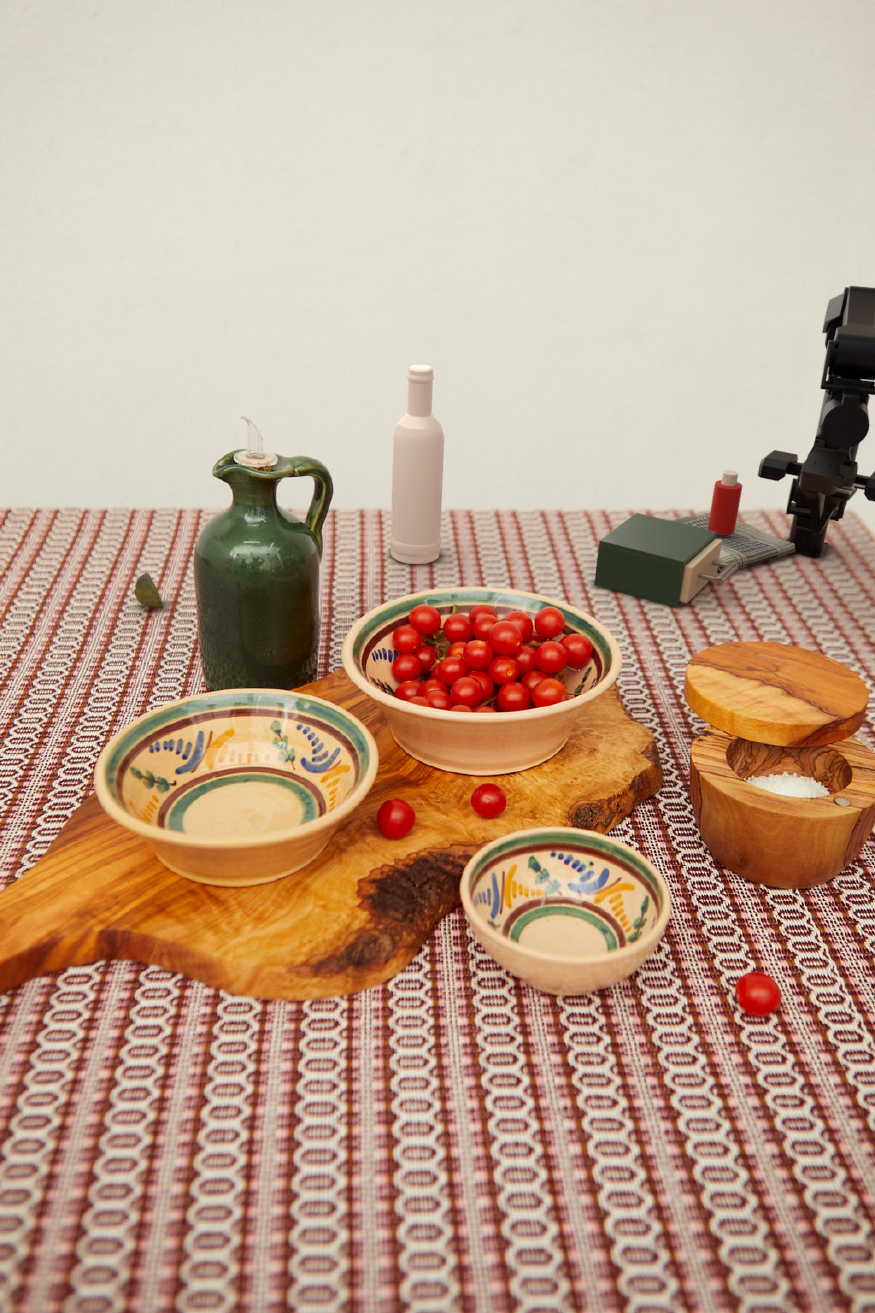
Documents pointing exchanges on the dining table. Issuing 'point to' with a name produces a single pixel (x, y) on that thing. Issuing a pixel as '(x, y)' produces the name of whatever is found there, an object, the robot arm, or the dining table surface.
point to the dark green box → (649, 557)
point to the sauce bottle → (725, 504)
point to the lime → (147, 592)
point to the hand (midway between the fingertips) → (817, 533)
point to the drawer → (704, 570)
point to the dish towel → (743, 543)
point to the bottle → (417, 475)
